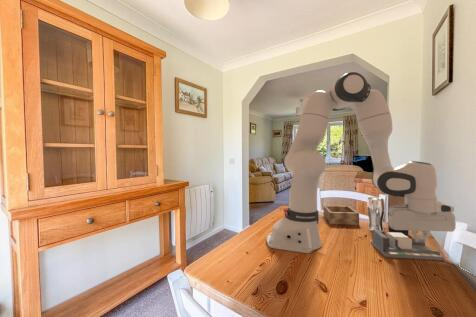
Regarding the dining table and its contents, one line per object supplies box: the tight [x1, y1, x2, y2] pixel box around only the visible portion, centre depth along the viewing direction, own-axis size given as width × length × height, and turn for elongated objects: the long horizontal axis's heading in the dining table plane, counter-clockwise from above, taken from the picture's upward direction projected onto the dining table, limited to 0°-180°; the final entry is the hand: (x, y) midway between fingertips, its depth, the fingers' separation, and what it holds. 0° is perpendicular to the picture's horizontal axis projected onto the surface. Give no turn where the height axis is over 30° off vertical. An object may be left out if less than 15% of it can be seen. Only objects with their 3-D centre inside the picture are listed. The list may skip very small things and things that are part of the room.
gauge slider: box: [386, 231, 413, 250], centre depth 75 cm, size 5×8×4 cm, turn 170°
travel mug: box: [387, 194, 410, 237], centre depth 92 cm, size 8×8×20 cm
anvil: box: [372, 230, 389, 252], centre depth 77 cm, size 2×8×5 cm, turn 171°
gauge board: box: [370, 239, 445, 261], centre depth 76 cm, size 18×11×2 cm, turn 80°
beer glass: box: [366, 196, 386, 233], centre depth 97 cm, size 7×7×15 cm
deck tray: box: [322, 205, 360, 226], centre depth 112 cm, size 14×14×6 cm
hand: (420, 241), depth 75 cm, fingers closed
